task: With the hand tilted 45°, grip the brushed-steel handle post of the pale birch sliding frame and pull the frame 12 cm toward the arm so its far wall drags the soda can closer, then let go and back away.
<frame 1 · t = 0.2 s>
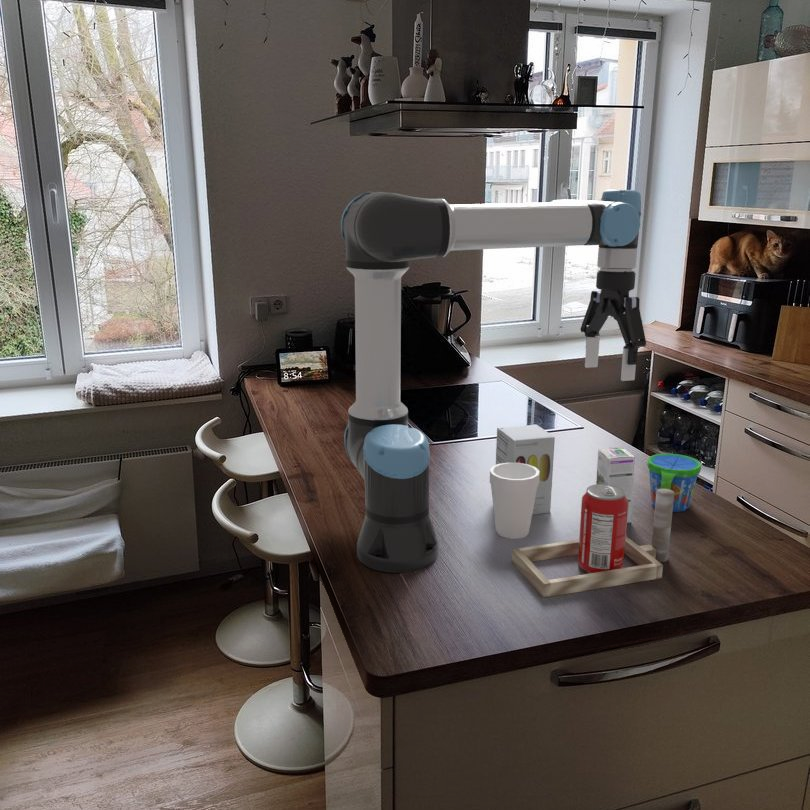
hand: (608, 373, 160), 28 cm above the worktop, tool pointing down, fingers open, 13 cm apart
soda can: (600, 569, 137), resting in birch pull frame
birch pull frame: (600, 534, 135), point 7 cm above the worktop, slide at 0.0 cm
snack cup: (669, 507, 163), on the worktop
supplement box: (521, 507, 164), on the worktop
syrup box: (611, 519, 157), on the worktop
foam cup: (512, 533, 152), on the worktop
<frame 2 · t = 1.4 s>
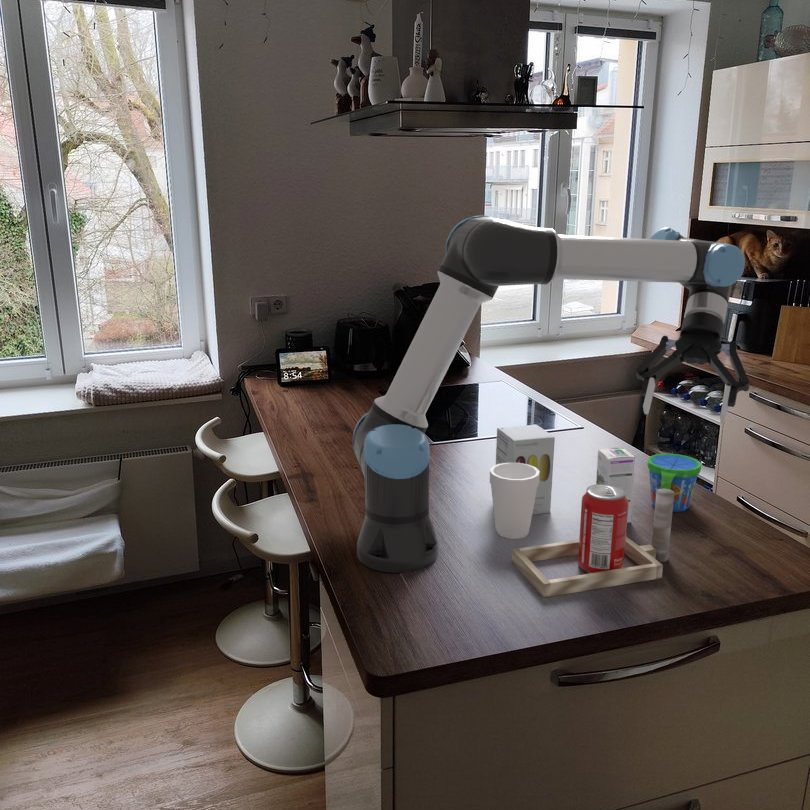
hand: (683, 415, 142), 25 cm above the worktop, tool tilted 45°, fingers open, 13 cm apart
nothing on the worktop moved.
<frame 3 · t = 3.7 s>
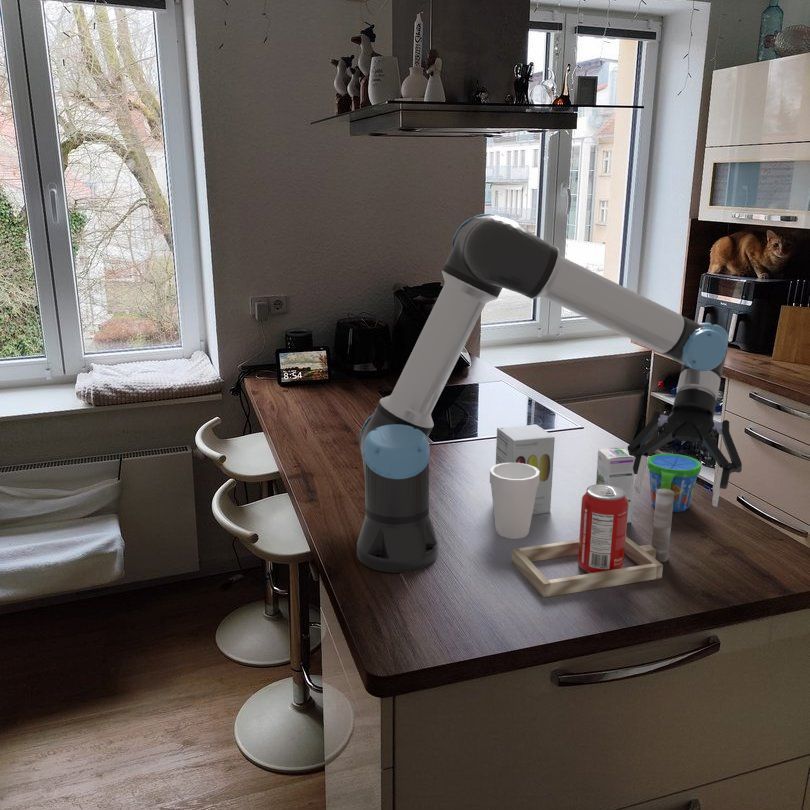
hand: (674, 496, 140), 11 cm above the worktop, tool tilted 45°, fingers open, 13 cm apart
nothing on the worktop moved.
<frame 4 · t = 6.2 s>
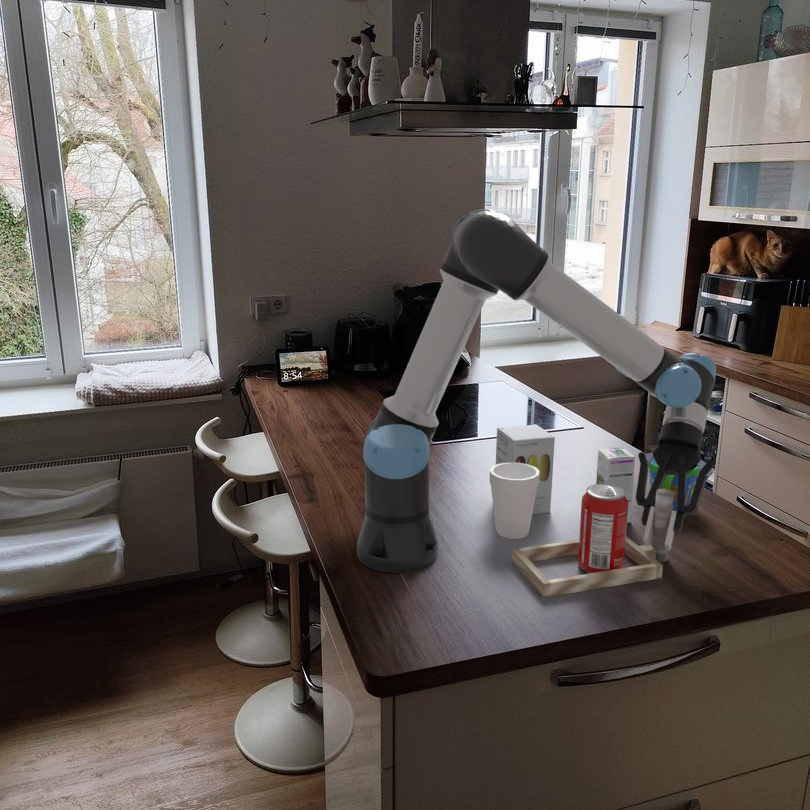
hand: (656, 544, 136), 5 cm above the worktop, tool tilted 45°, fingers closed on birch pull frame, 3 cm apart
birch pull frame: (600, 534, 135), point 7 cm above the worktop, slide at 0.0 cm, touching gripper
everything else where it was.
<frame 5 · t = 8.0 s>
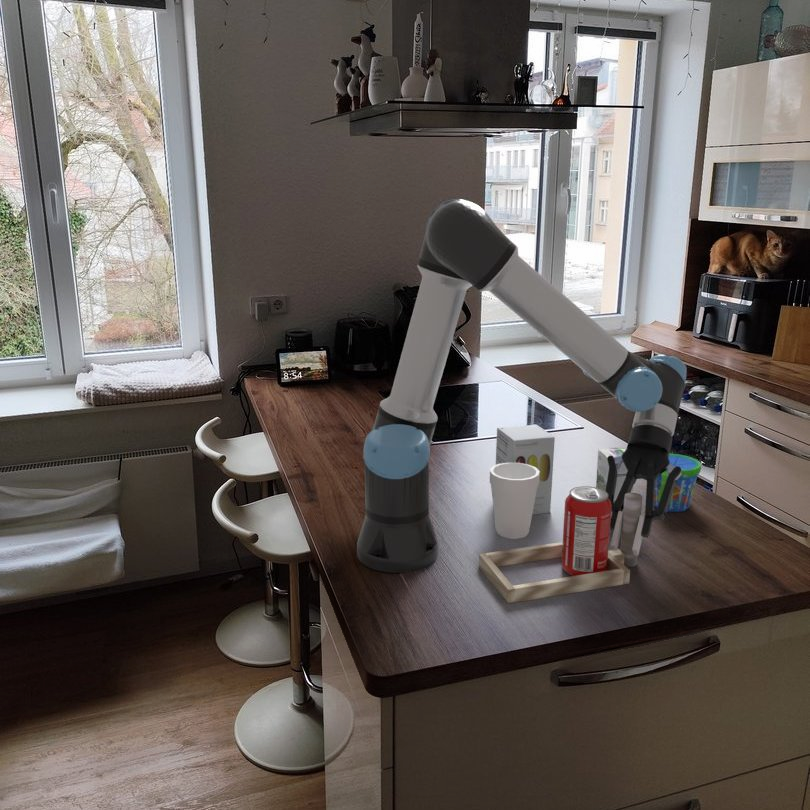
hand: (624, 550, 134), 5 cm above the worktop, tool tilted 45°, fingers closed on birch pull frame, 3 cm apart
soda can: (583, 572, 136), resting in birch pull frame
birch pull frame: (567, 539, 134), point 7 cm above the worktop, slide at 6.4 cm, touching gripper, soda can
everything else where it was.
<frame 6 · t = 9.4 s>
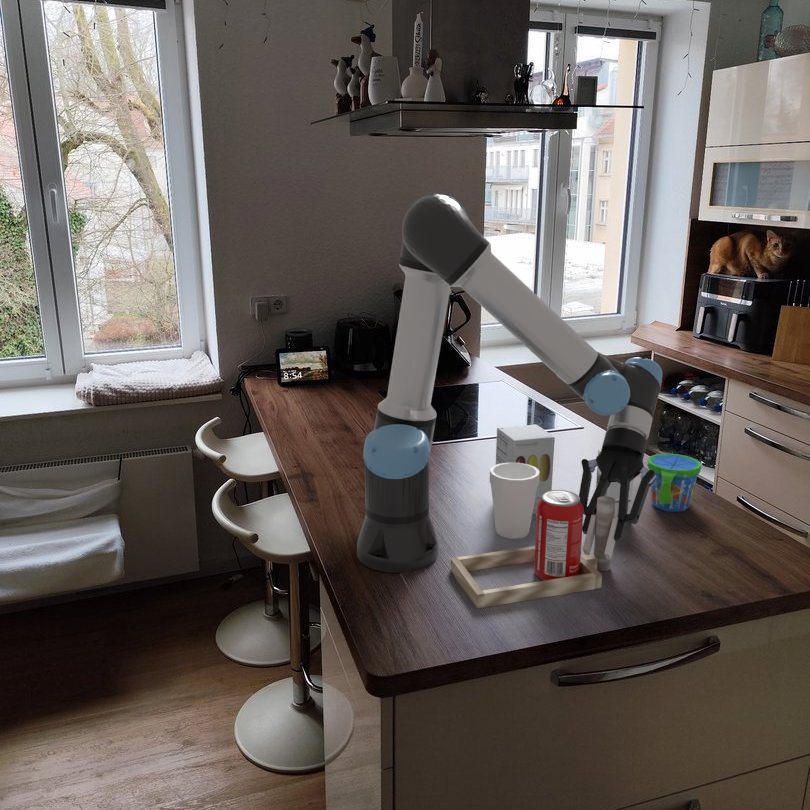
hand: (596, 554, 133), 5 cm above the worktop, tool tilted 45°, fingers closed on birch pull frame, 3 cm apart
soda can: (556, 577, 135), resting in birch pull frame
birch pull frame: (539, 543, 132), point 7 cm above the worktop, slide at 11.7 cm, touching gripper, soda can
everything else where it was.
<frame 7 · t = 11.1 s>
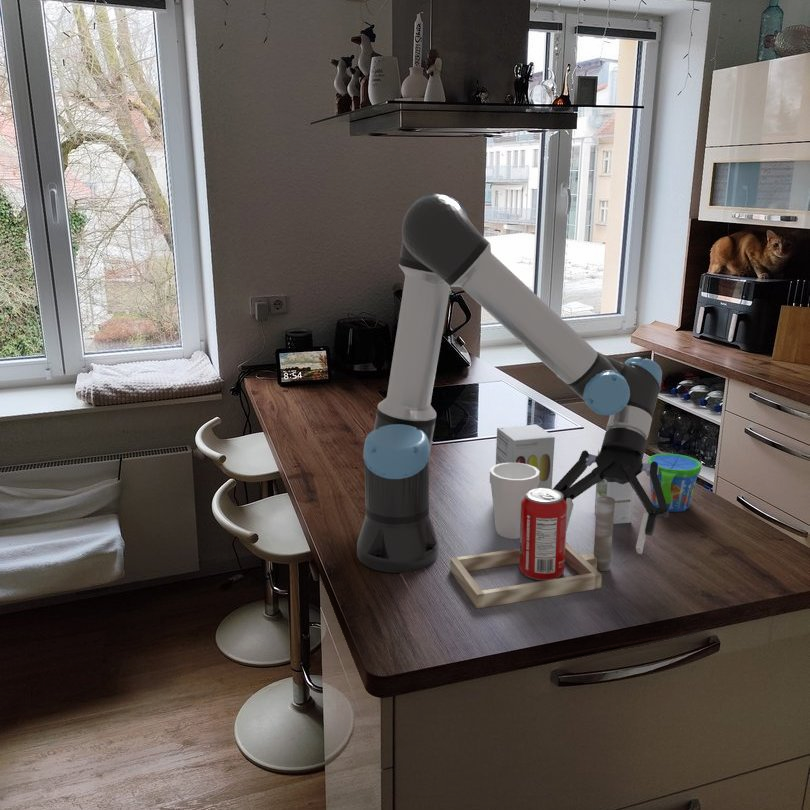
hand: (598, 542, 134), 6 cm above the worktop, tool tilted 45°, fingers open, 13 cm apart
soda can: (541, 574, 136), resting in birch pull frame, touching gripper
birch pull frame: (539, 543, 132), point 7 cm above the worktop, slide at 11.8 cm
everything else where it was.
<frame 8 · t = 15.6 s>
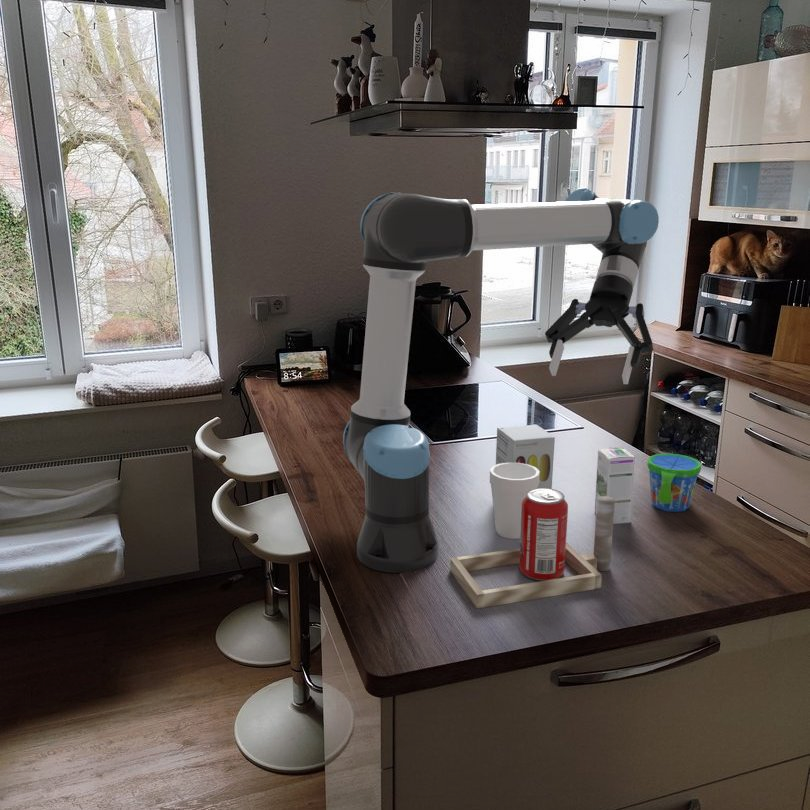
hand: (587, 376, 142), 32 cm above the worktop, tool tilted 45°, fingers open, 13 cm apart
soda can: (541, 574, 136), resting in birch pull frame
everything else where it was.
at the end: birch pull frame slide at 11.8 cm; soda can inside the target area (1.8 cm from its centre), resting in birch pull frame; soda can tilted 0° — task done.
